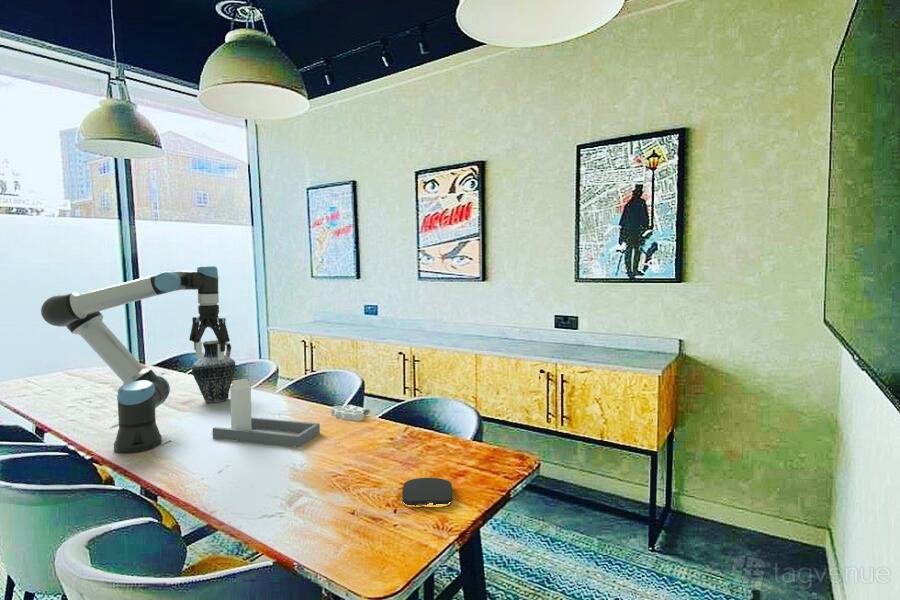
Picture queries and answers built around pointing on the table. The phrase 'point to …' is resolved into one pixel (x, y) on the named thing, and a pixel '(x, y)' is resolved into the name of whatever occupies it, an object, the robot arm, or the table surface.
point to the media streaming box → (427, 491)
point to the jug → (214, 372)
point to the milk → (241, 405)
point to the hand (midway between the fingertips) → (209, 358)
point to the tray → (271, 438)
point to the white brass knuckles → (349, 412)
